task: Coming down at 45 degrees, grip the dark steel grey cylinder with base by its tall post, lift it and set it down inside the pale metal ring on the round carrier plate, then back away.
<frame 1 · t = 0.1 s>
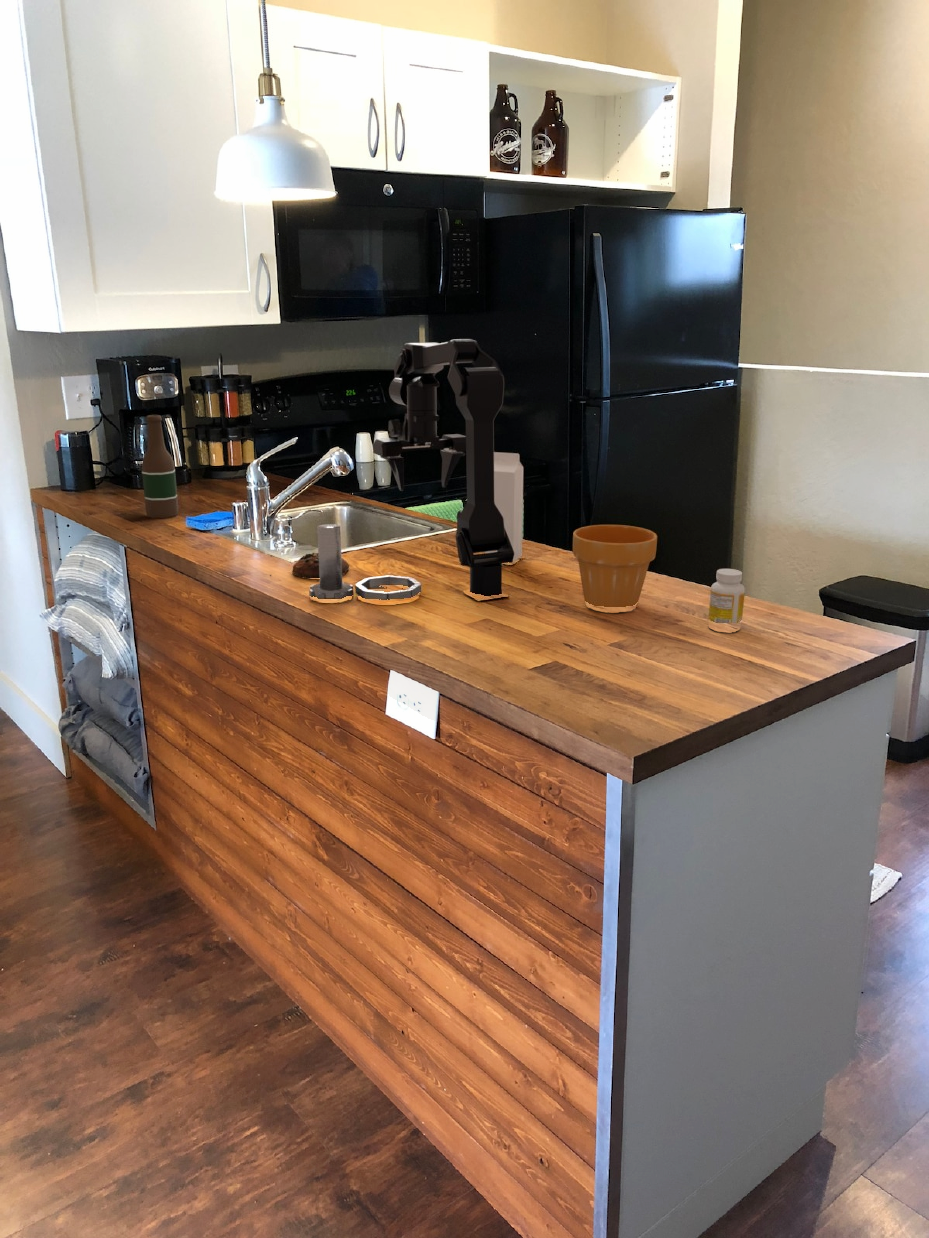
hand: (422, 488, 201), 15 cm above the table, fingers open, 9 cm apart
carrier ring: (388, 596, 181), on the table
beer bottle: (162, 516, 246), on the table
grey cylinder with base: (331, 598, 180), on the table
supplement bottle: (724, 629, 164), on the table
milk: (503, 562, 205), on the table
flower pot: (611, 607, 176), on the table
bread roll: (320, 574, 197), on the table
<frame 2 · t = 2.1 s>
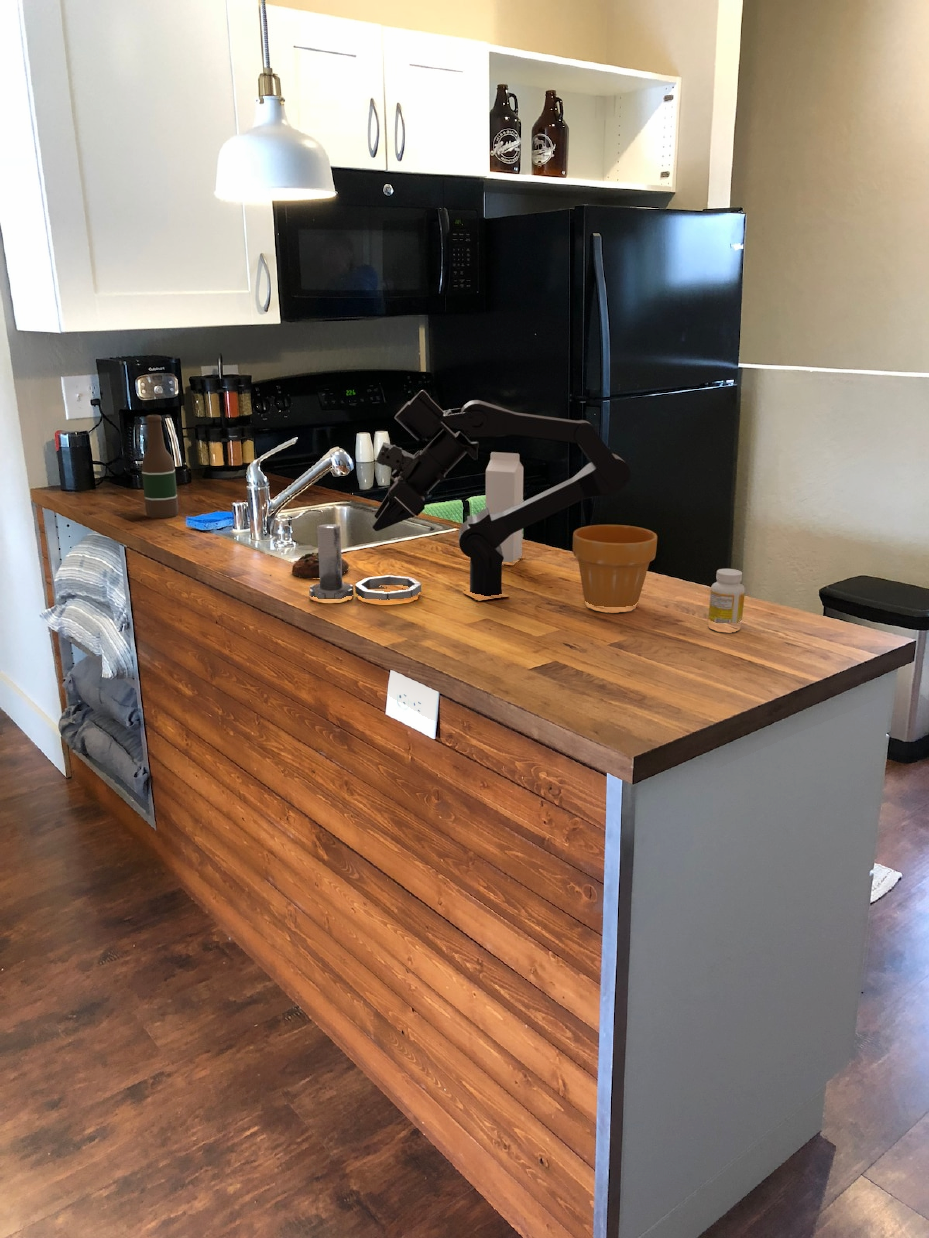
hand: (375, 523, 177), 13 cm above the table, fingers open, 9 cm apart
nothing on the table moved.
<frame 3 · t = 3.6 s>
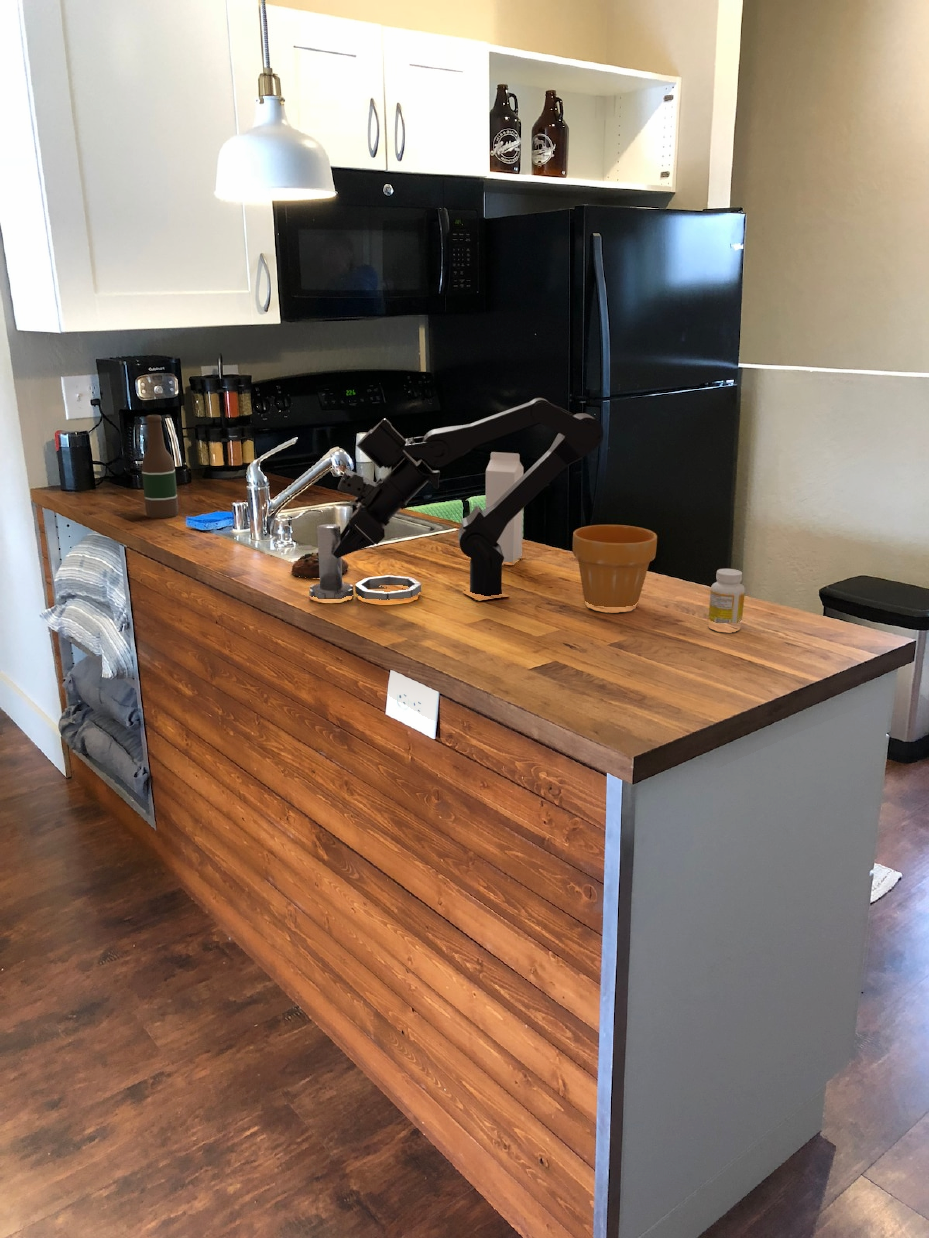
hand: (336, 549, 178), 9 cm above the table, fingers open, 9 cm apart
nothing on the table moved.
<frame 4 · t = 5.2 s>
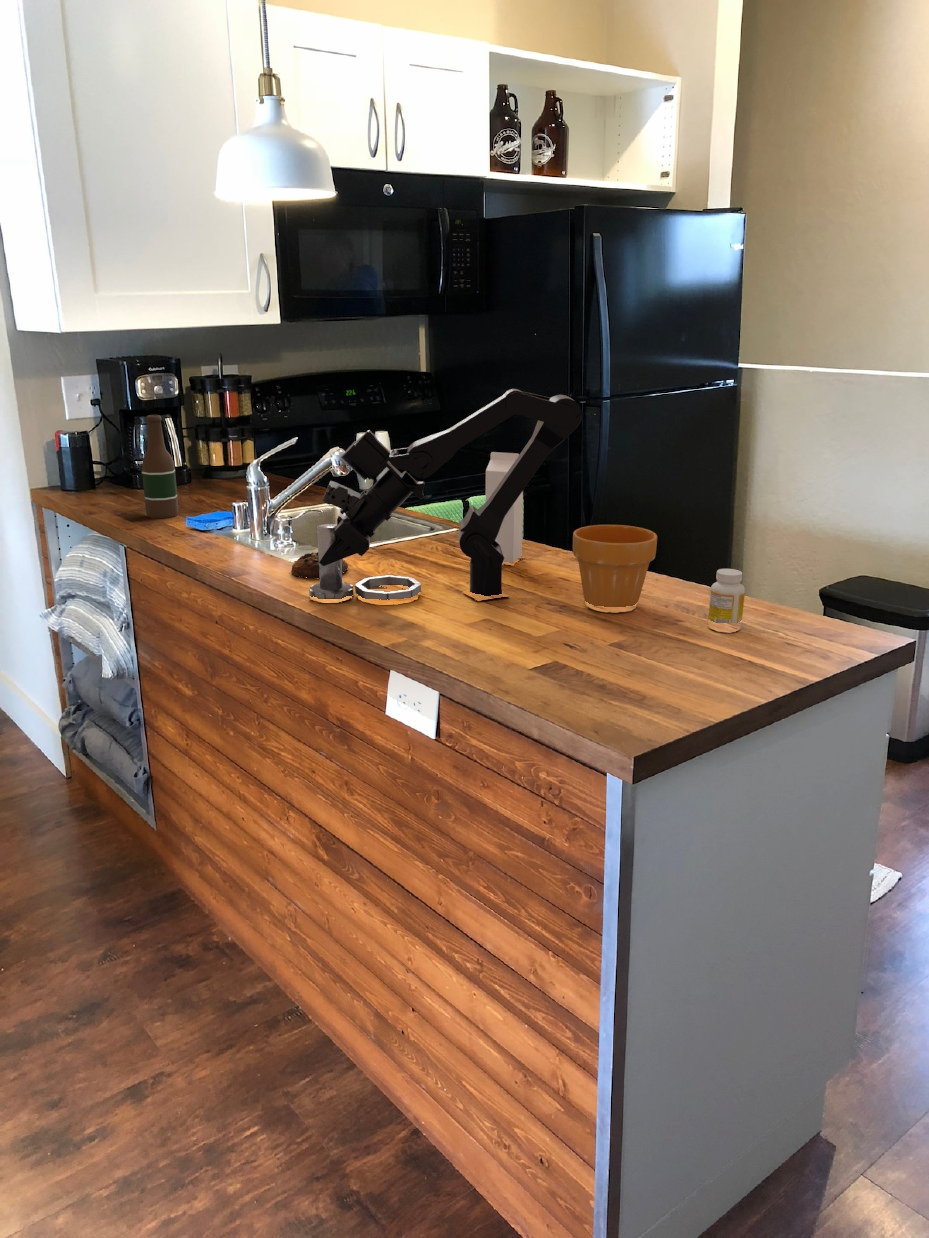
hand: (322, 561, 178), 7 cm above the table, fingers closed on grey cylinder with base, 4 cm apart
grey cylinder with base: (331, 597, 180), on the table, touching gripper
everything else where it was.
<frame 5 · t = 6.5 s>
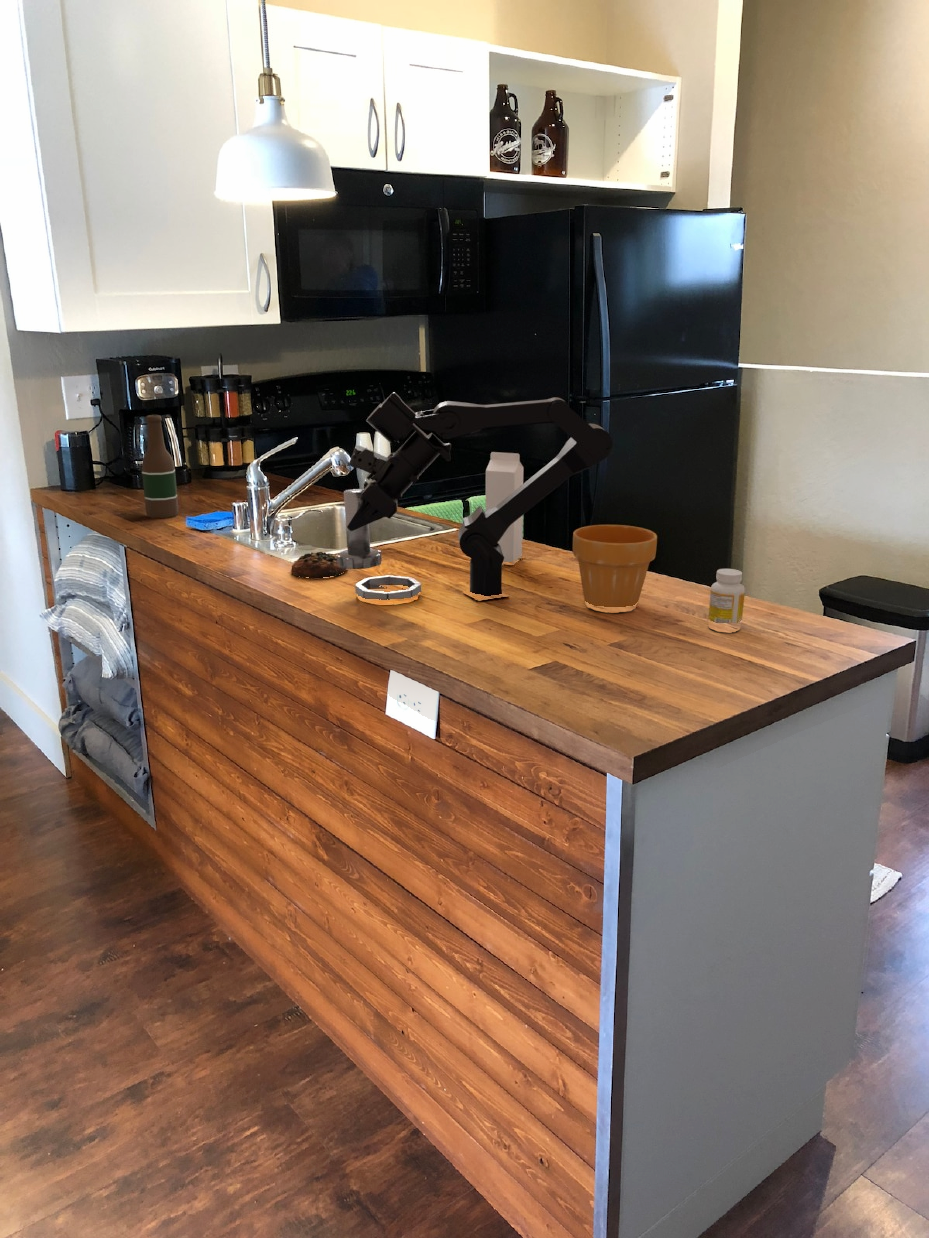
hand: (349, 526, 177), 13 cm above the table, fingers closed on grey cylinder with base, 4 cm apart
grey cylinder with base: (359, 563, 179), point 6 cm above the table, touching gripper
everything else where it was.
when the fingers open (9 cm above the table, at t = 8.3 s): grey cylinder with base drops 1 cm, resting on carrier ring.
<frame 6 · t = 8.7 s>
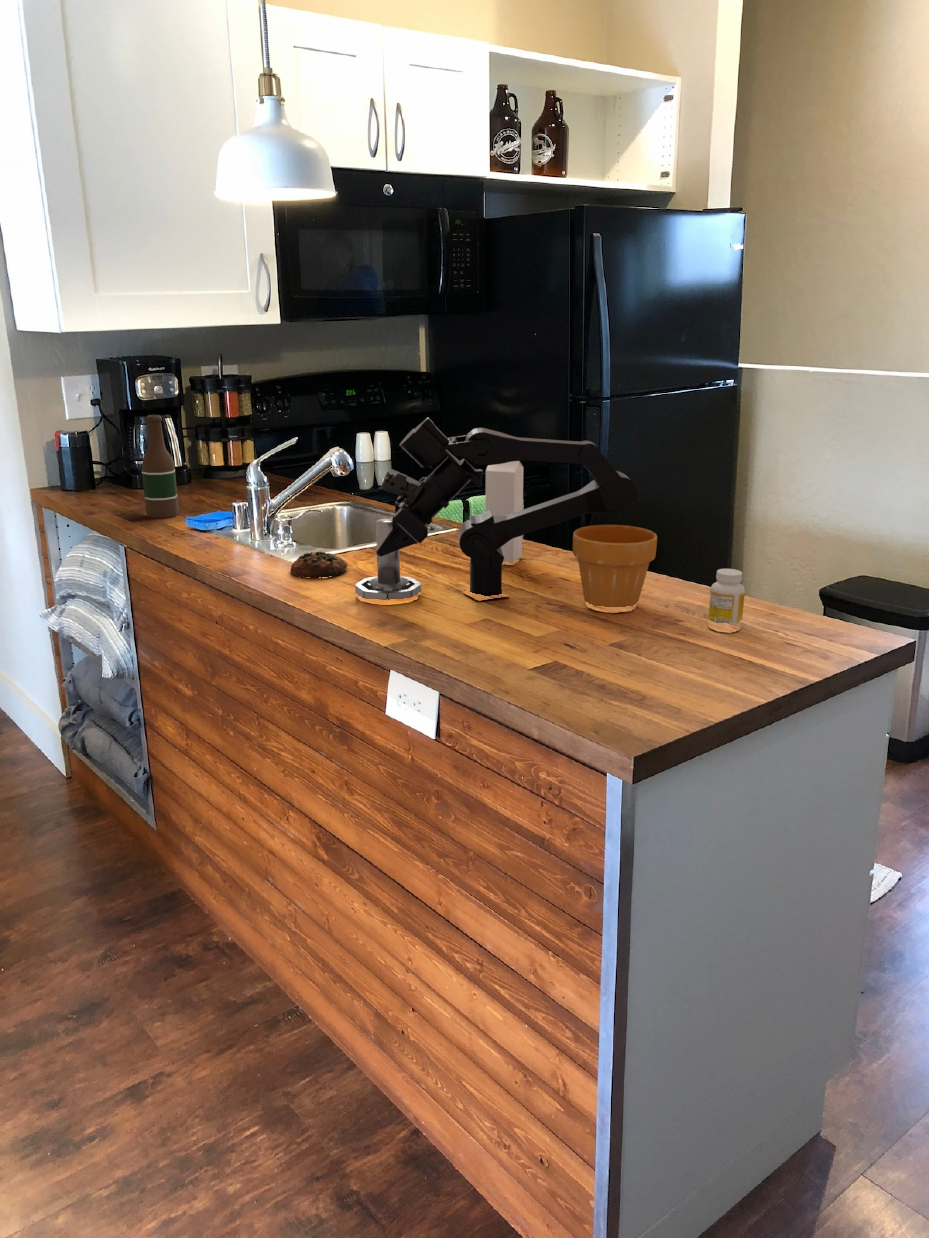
hand: (379, 548, 178), 9 cm above the table, fingers open, 8 cm apart
grey cylinder with base: (389, 592, 181), point 1 cm above the table, touching carrier ring
everything else where it was.
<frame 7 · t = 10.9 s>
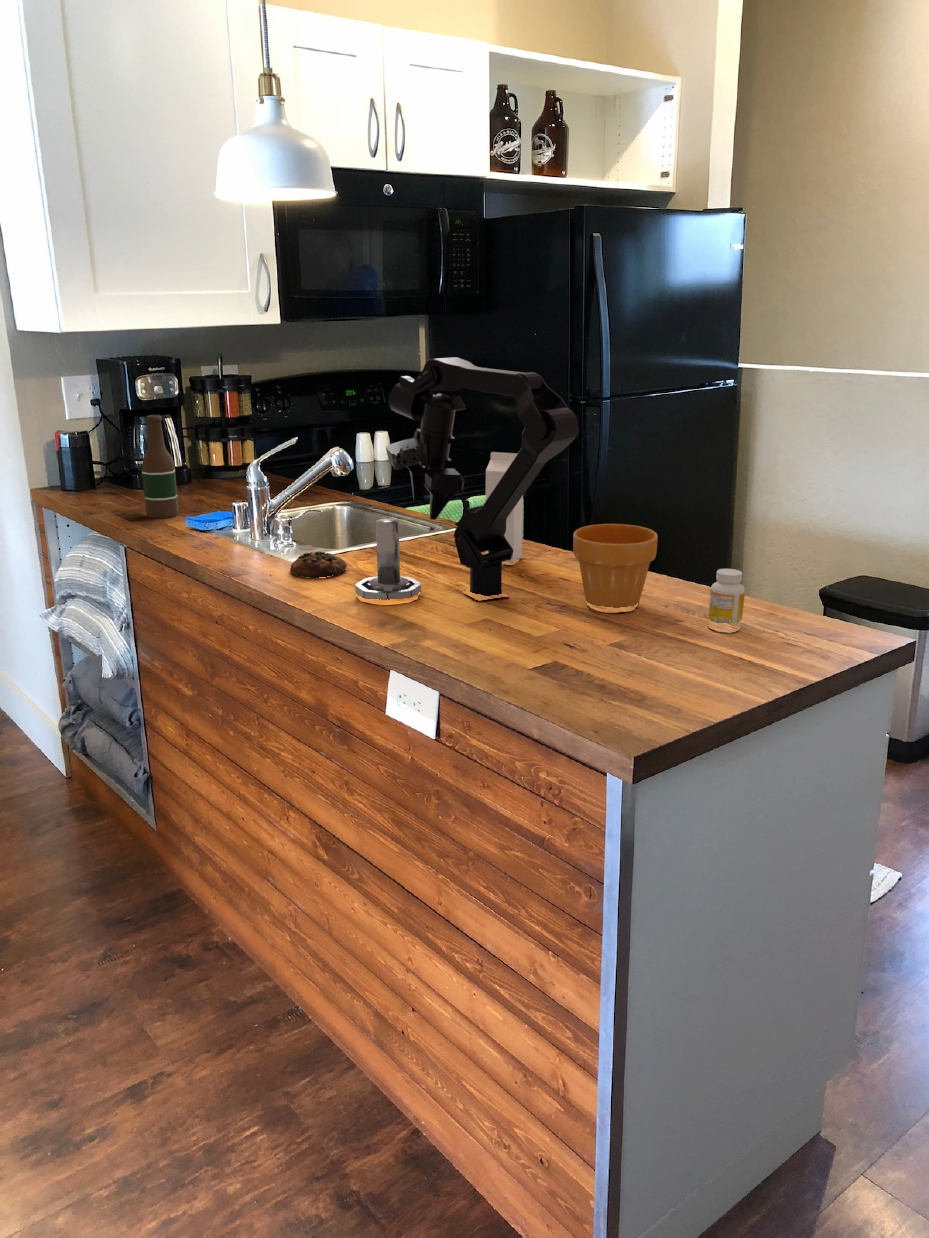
hand: (424, 509, 187), 14 cm above the table, fingers open, 9 cm apart
nothing on the table moved.
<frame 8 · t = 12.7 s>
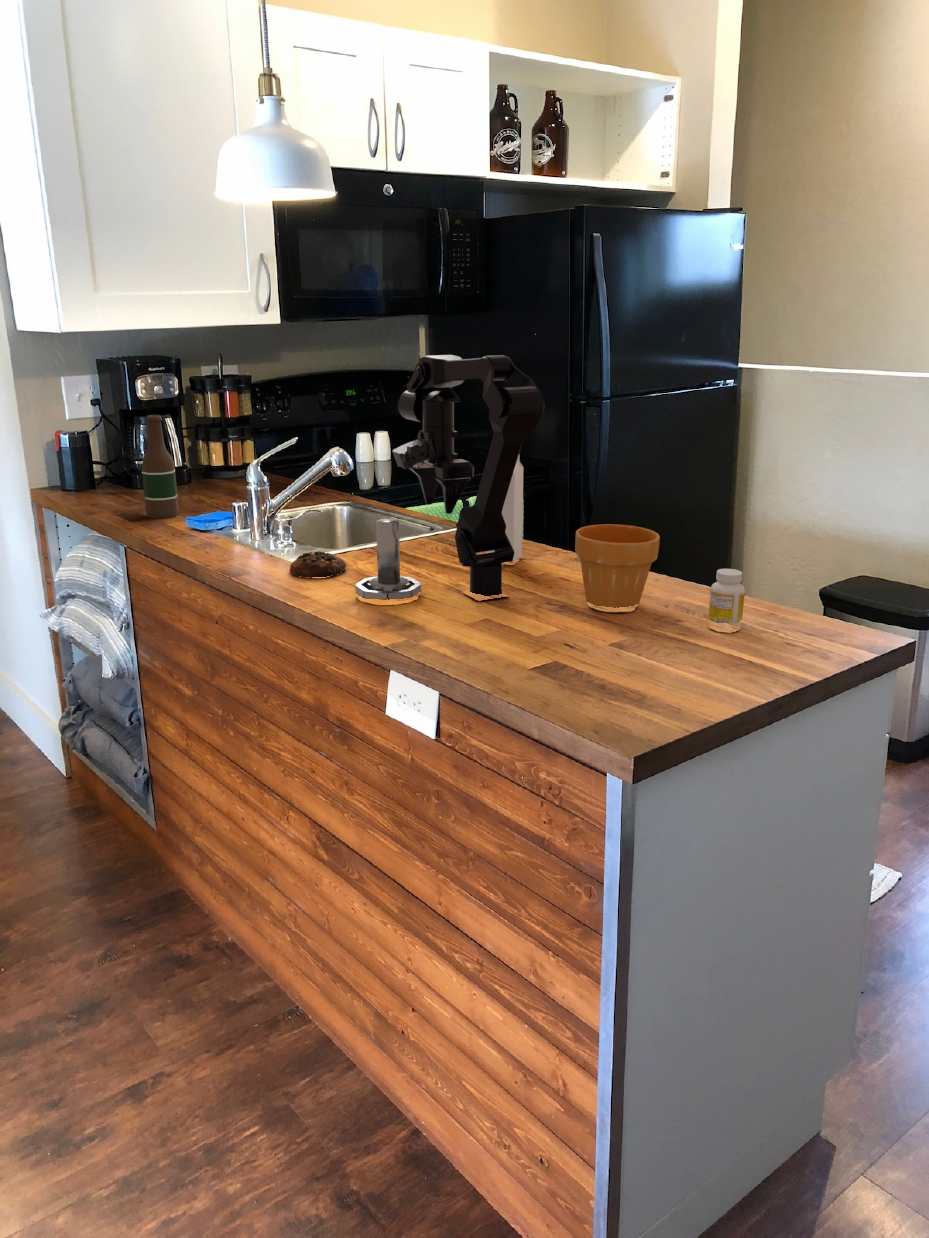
hand: (438, 508, 190), 13 cm above the table, fingers open, 9 cm apart
nothing on the table moved.
at the end: grey cylinder with base 0.1 cm from the carrier ring (horizontally); grey cylinder with base tilted 0°; grey cylinder with base point 0.8 cm above the table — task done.
